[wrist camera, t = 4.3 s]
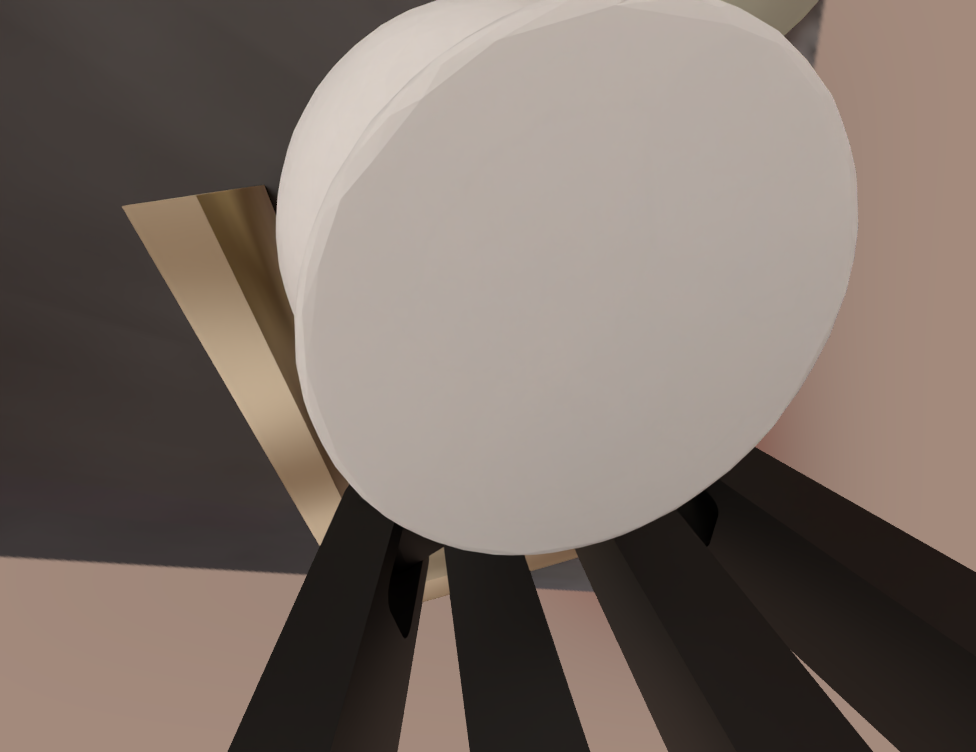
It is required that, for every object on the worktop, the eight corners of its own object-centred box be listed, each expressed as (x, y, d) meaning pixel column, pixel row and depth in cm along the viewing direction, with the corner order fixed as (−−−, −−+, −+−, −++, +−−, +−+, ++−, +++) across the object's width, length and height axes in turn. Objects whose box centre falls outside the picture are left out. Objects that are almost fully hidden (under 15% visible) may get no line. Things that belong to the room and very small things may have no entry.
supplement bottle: (557, 165, 14) (1124, 167, 3) (483, 319, 16) (656, 624, 6) (383, 56, 11) (150, -2015, 1) (325, 257, 14) (70, 599, 3)
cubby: (217, 191, 12) (121, 206, 8) (623, 132, 14) (722, 119, 10) (369, 528, 21) (362, 619, 17) (604, 467, 23) (651, 536, 19)
